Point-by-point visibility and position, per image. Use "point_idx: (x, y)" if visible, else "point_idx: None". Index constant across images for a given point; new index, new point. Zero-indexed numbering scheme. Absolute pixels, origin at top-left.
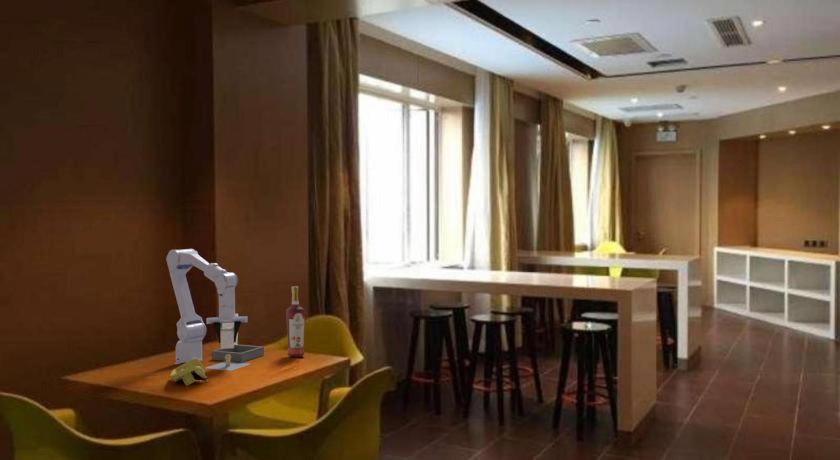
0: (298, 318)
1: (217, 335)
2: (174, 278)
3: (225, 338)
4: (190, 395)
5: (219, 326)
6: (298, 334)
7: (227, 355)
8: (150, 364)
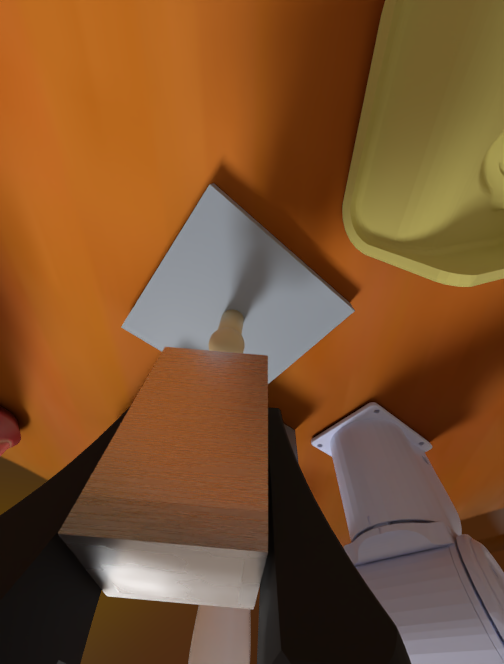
0: None
1: (301, 475)
2: None
3: (215, 419)
4: None
5: (287, 635)
6: None
7: (226, 343)
8: (501, 464)
